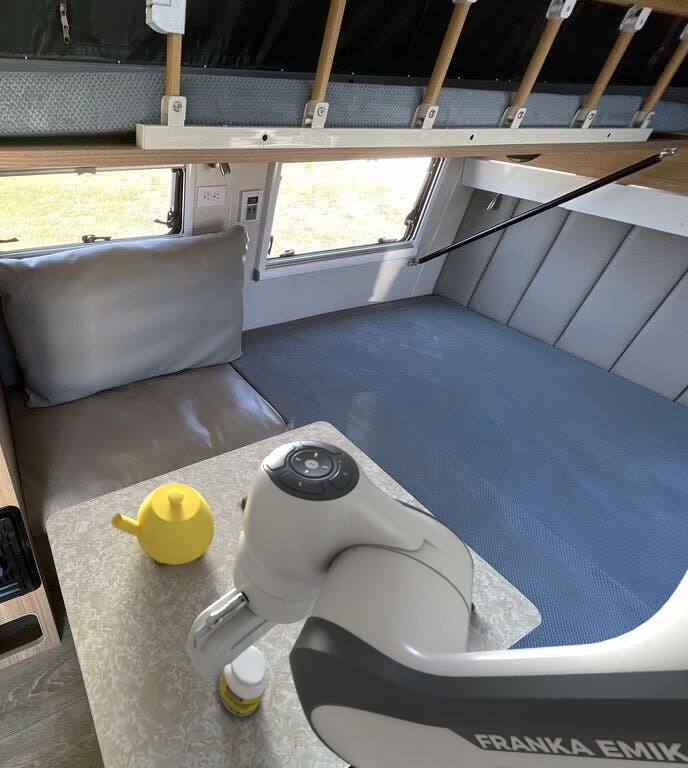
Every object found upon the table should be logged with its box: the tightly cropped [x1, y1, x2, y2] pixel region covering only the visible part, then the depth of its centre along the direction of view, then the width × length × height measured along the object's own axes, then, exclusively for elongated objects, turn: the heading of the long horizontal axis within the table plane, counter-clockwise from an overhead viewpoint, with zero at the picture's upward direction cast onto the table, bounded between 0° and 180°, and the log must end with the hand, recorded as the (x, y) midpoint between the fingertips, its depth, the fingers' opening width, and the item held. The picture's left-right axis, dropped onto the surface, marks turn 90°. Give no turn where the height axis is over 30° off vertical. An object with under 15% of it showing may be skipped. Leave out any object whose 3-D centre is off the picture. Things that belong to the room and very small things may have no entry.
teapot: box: [111, 482, 215, 565], centre depth 78 cm, size 20×16×14 cm
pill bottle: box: [219, 645, 269, 717], centre depth 58 cm, size 6×6×11 cm
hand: (258, 630), depth 49 cm, fingers open, 8 cm apart
